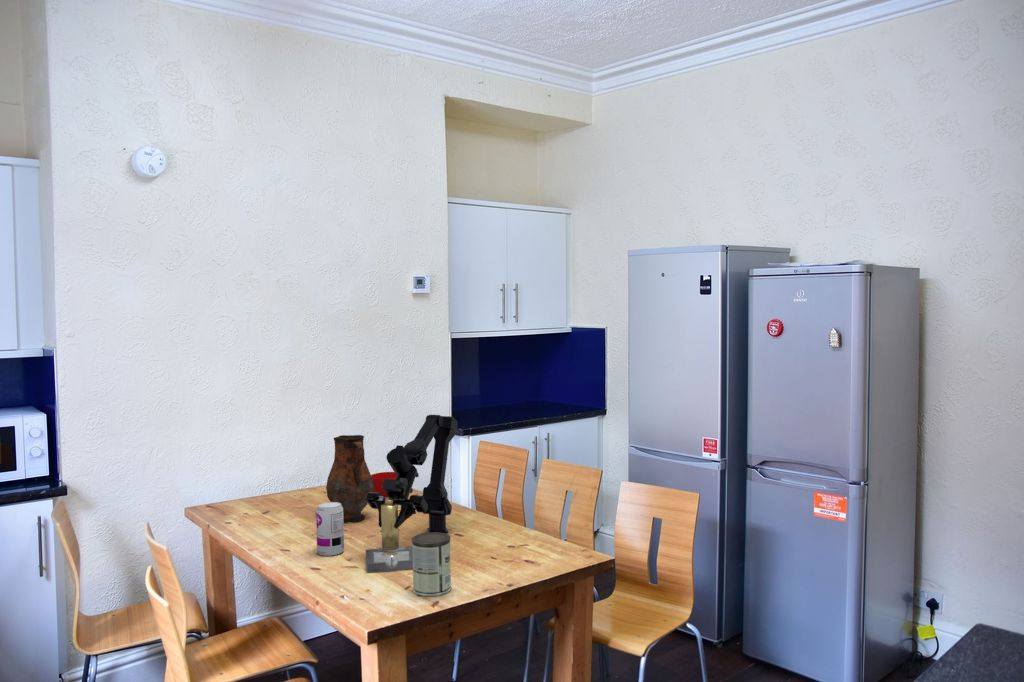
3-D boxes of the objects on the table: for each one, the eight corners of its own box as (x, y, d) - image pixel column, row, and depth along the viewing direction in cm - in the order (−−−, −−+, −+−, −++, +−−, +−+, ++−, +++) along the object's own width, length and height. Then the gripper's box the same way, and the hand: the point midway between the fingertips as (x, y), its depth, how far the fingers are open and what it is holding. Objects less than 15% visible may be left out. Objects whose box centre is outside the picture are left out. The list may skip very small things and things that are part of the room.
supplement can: (317, 557, 237) (316, 508, 236) (316, 549, 245) (315, 502, 244) (344, 555, 239) (343, 506, 239) (343, 547, 247) (342, 500, 246)
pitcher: (363, 510, 293) (362, 431, 292) (385, 523, 275) (383, 438, 274) (320, 517, 284) (318, 435, 283) (339, 530, 266) (338, 443, 265)
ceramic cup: (359, 498, 312) (358, 473, 312) (401, 495, 317) (400, 470, 317) (362, 506, 300) (362, 480, 299) (406, 502, 305) (406, 477, 304)
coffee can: (414, 583, 214) (413, 532, 213) (452, 582, 214) (451, 531, 213) (410, 597, 203) (409, 543, 203) (450, 596, 204) (449, 542, 203)
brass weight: (392, 544, 236) (391, 496, 235) (402, 547, 232) (401, 499, 231) (378, 548, 232) (377, 499, 231) (388, 551, 228) (387, 502, 228)
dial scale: (365, 557, 236) (365, 543, 236) (412, 554, 239) (412, 539, 239) (367, 573, 222) (366, 557, 222) (416, 569, 225) (416, 553, 225)
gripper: (367, 465, 238) (349, 510, 228) (423, 469, 232) (407, 515, 222) (380, 485, 246) (363, 530, 236) (434, 489, 239) (419, 535, 230)
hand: (387, 527), depth 230 cm, fingers closed on brass weight, 5 cm apart
